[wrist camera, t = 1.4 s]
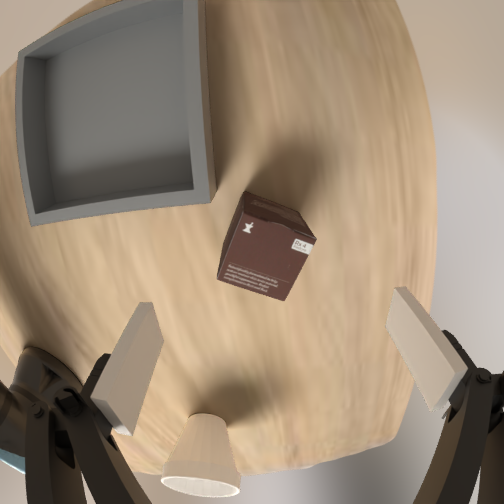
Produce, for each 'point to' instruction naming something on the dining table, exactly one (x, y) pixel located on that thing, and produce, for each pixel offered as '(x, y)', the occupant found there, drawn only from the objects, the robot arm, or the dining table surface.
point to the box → (264, 247)
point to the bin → (116, 113)
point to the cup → (202, 459)
